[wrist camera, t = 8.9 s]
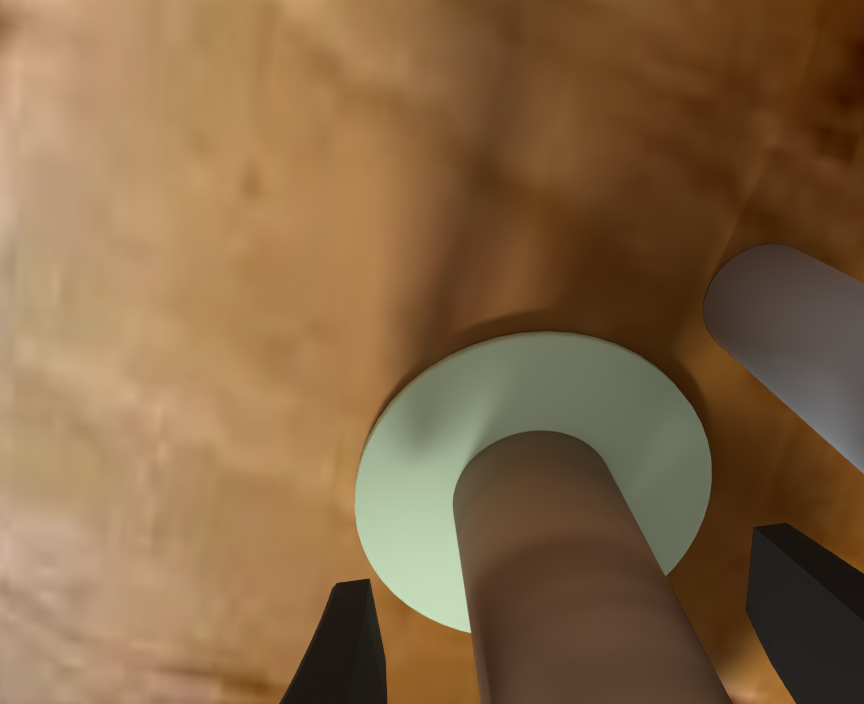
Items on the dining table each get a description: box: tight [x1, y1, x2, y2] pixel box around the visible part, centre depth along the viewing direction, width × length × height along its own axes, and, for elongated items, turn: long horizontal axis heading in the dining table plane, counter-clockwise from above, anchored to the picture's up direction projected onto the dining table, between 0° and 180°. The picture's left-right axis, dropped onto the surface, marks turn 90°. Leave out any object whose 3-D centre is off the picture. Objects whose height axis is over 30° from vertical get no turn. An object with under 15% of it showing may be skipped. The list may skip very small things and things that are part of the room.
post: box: [703, 244, 864, 474], centre depth 12 cm, size 2×2×6 cm
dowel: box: [453, 430, 732, 704], centre depth 12 cm, size 4×4×7 cm
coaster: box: [355, 331, 712, 633], centre depth 16 cm, size 8×8×1 cm
